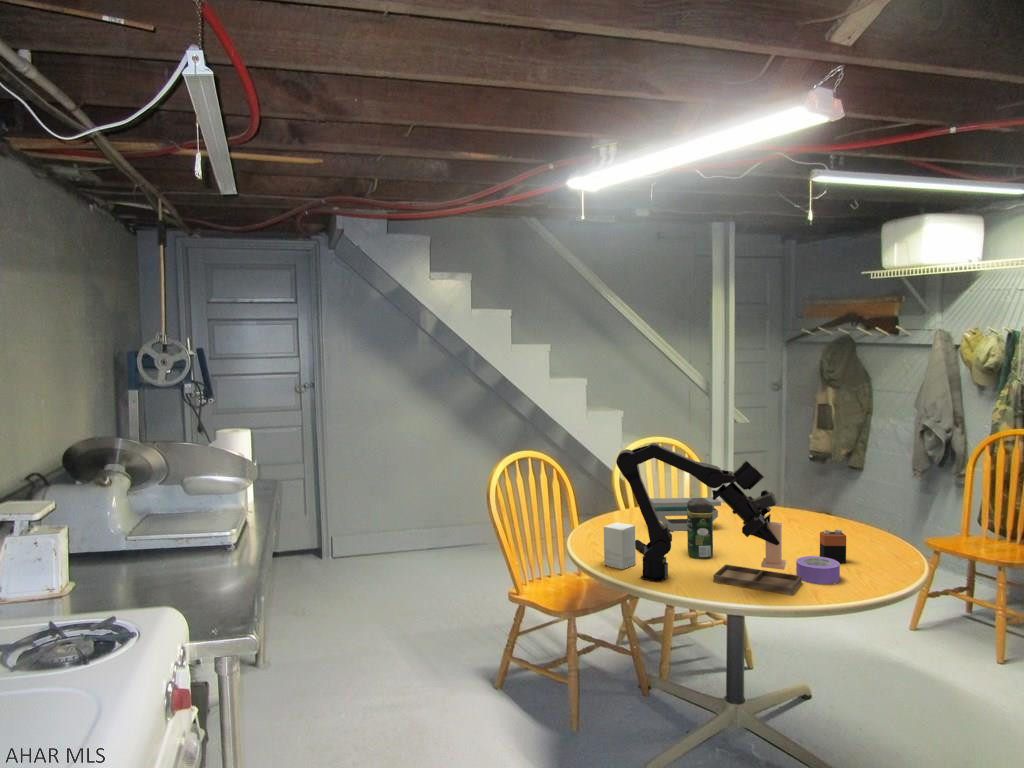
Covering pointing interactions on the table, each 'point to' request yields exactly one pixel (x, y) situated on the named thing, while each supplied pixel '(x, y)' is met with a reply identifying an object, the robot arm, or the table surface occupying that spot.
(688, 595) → the table surface
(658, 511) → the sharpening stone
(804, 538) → the table surface
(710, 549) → the coffee jar
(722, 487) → the robot arm
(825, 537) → the battery
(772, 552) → the pink post on base
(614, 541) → the supplement box
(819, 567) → the tape roll
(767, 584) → the divided tray
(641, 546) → the electric trimmer
